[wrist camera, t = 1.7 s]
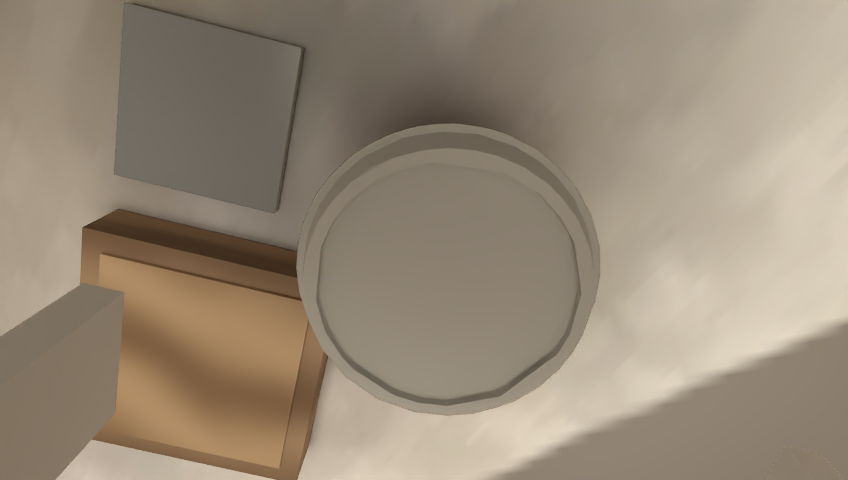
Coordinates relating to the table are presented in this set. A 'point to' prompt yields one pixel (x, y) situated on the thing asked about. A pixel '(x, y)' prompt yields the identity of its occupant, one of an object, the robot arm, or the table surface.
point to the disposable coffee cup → (448, 268)
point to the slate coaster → (204, 108)
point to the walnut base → (207, 345)
